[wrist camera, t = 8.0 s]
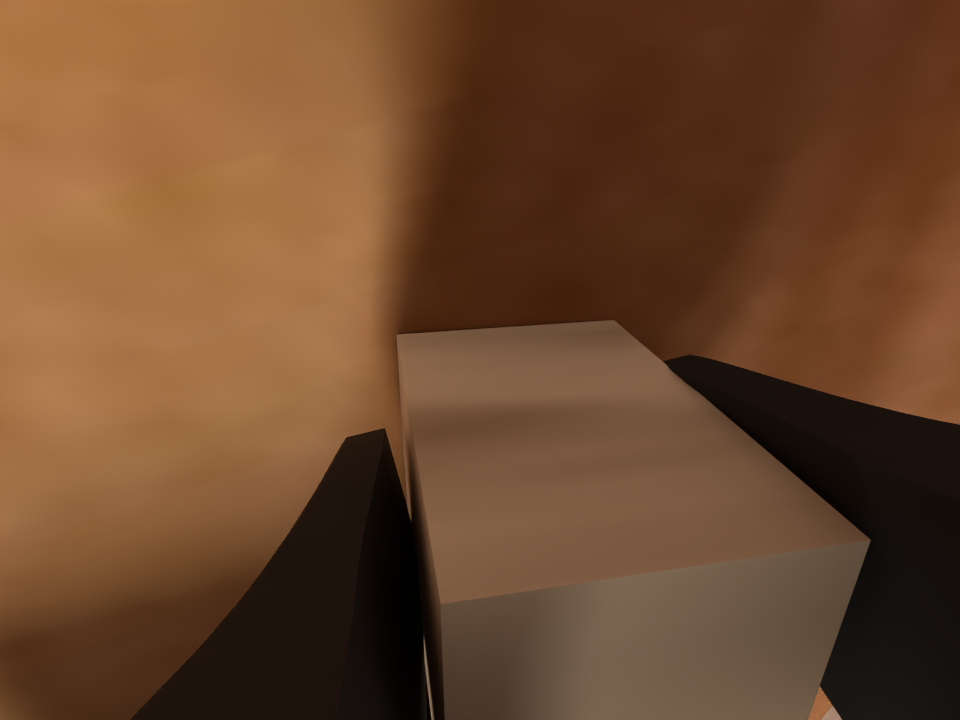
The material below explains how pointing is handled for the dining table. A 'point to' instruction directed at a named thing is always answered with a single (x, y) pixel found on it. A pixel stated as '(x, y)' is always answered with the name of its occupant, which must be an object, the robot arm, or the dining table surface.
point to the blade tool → (607, 537)
